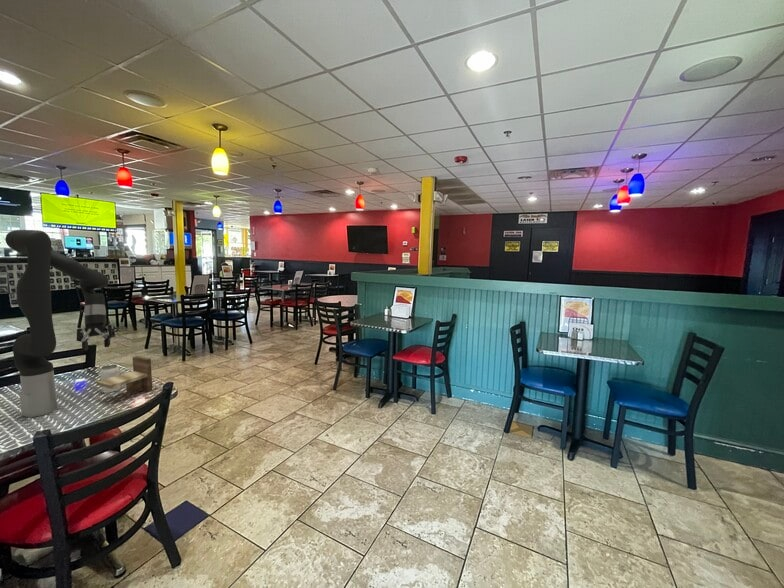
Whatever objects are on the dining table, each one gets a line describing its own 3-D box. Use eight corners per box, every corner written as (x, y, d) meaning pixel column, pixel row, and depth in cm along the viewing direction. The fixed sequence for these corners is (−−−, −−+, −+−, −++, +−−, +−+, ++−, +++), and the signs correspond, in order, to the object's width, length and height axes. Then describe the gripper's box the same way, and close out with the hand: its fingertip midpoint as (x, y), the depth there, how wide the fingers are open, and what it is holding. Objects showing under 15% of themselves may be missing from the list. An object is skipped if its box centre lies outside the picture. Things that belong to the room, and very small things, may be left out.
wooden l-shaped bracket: (112, 404, 139) (109, 370, 138) (98, 400, 143) (95, 366, 141) (152, 390, 155) (150, 358, 154) (138, 386, 159) (136, 356, 157)
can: (104, 394, 149) (102, 370, 148) (100, 390, 153) (99, 367, 151) (121, 390, 154) (120, 366, 153) (118, 386, 158) (116, 363, 157)
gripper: (71, 316, 146) (72, 351, 144) (107, 312, 149) (108, 346, 147) (83, 317, 153) (84, 350, 151) (117, 313, 156) (118, 346, 154)
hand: (96, 348), depth 149 cm, fingers open, 8 cm apart
